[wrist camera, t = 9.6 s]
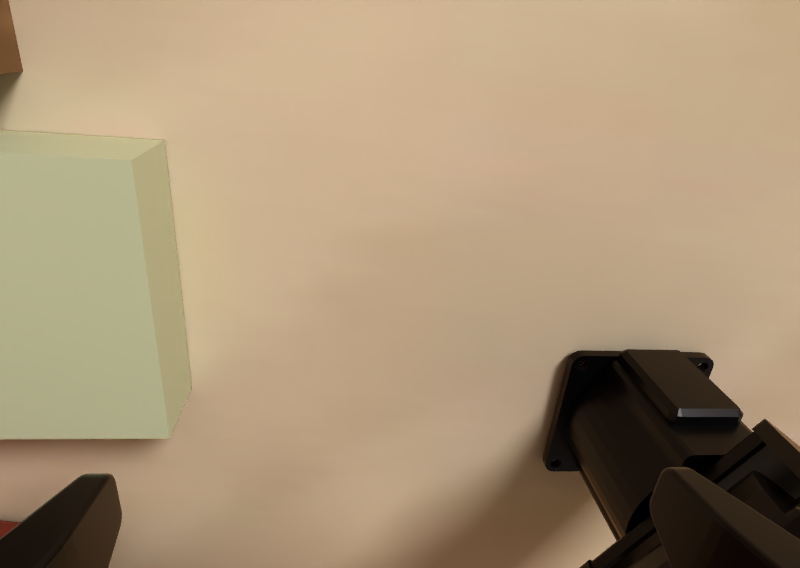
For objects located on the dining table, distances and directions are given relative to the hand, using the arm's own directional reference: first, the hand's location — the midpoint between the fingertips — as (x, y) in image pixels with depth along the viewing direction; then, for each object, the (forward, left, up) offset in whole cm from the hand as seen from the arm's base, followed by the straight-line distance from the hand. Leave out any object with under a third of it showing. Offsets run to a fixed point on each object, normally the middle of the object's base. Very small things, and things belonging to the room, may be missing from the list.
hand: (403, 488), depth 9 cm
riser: (-2, +13, -12) cm, 18 cm away
